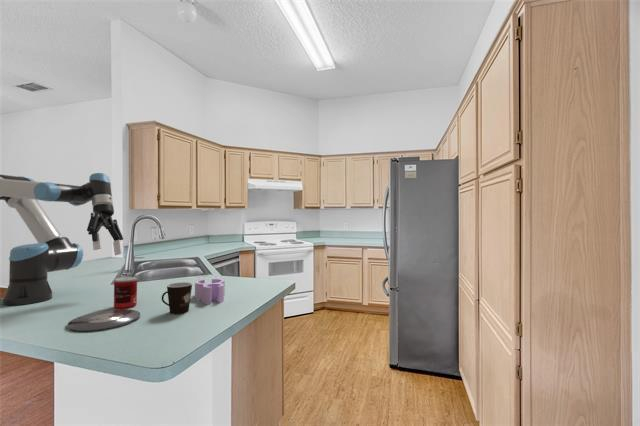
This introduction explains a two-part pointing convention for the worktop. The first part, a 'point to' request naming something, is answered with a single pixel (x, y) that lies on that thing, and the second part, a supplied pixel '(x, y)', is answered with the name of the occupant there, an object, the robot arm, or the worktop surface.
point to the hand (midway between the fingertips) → (108, 252)
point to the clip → (210, 290)
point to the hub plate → (103, 320)
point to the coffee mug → (178, 297)
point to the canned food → (125, 292)
